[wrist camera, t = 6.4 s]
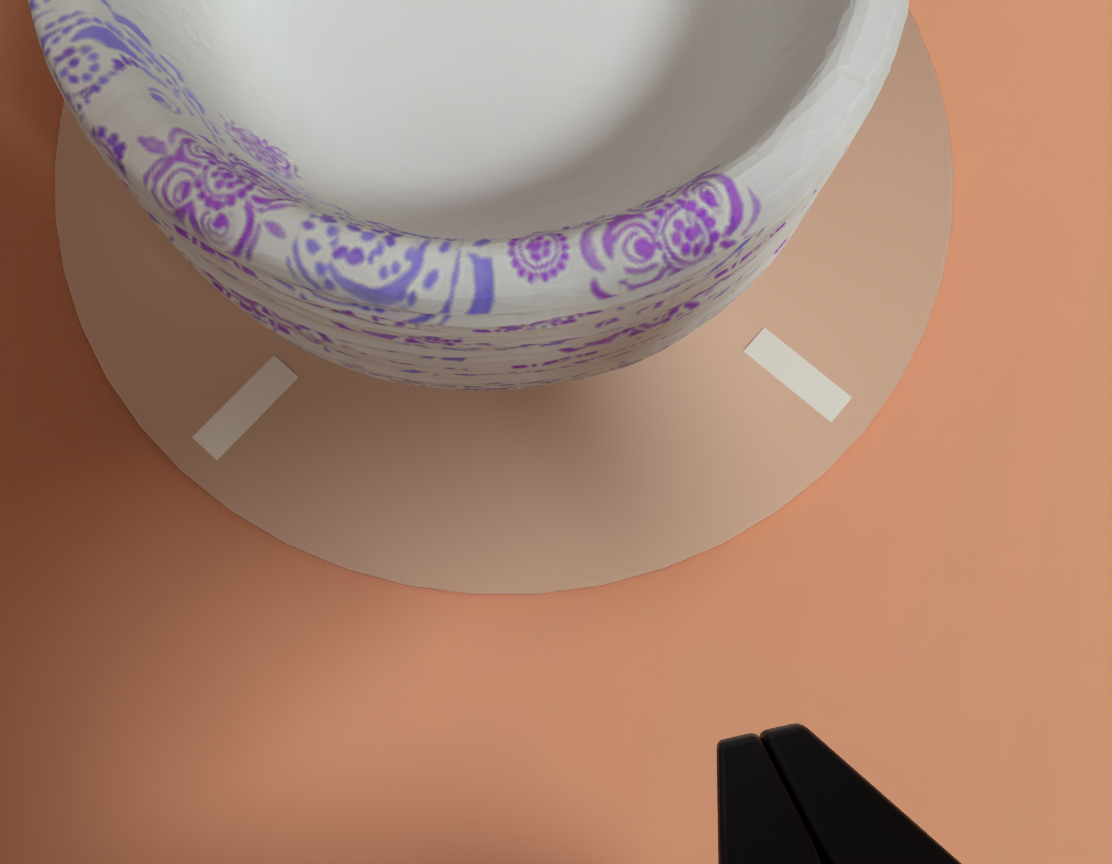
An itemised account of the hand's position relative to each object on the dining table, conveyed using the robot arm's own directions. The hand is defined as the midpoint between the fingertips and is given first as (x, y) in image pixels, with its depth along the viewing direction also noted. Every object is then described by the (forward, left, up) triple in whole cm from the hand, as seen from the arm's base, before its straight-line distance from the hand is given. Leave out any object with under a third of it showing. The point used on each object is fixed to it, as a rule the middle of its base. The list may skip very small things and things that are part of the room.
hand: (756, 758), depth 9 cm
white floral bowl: (+11, -8, -12) cm, 18 cm away
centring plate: (+11, -8, -12) cm, 18 cm away
